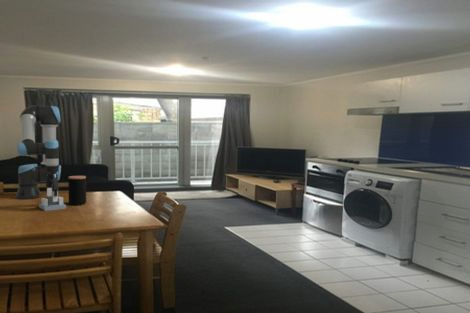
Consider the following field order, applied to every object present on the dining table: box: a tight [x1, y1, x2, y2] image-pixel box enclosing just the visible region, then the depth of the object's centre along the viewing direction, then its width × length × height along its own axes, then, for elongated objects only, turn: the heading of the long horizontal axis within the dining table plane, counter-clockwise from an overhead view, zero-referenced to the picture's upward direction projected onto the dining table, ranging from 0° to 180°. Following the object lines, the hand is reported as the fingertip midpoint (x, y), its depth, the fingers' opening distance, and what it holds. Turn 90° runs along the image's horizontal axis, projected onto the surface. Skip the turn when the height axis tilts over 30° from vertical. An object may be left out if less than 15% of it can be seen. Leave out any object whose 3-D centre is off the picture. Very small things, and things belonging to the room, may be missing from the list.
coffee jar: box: [68, 175, 87, 206], centre depth 242 cm, size 11×11×18 cm
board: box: [38, 196, 67, 212], centre depth 230 cm, size 14×12×6 cm
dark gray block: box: [46, 195, 57, 206], centre depth 229 cm, size 4×5×5 cm
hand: (52, 199), depth 230 cm, fingers open, 12 cm apart
